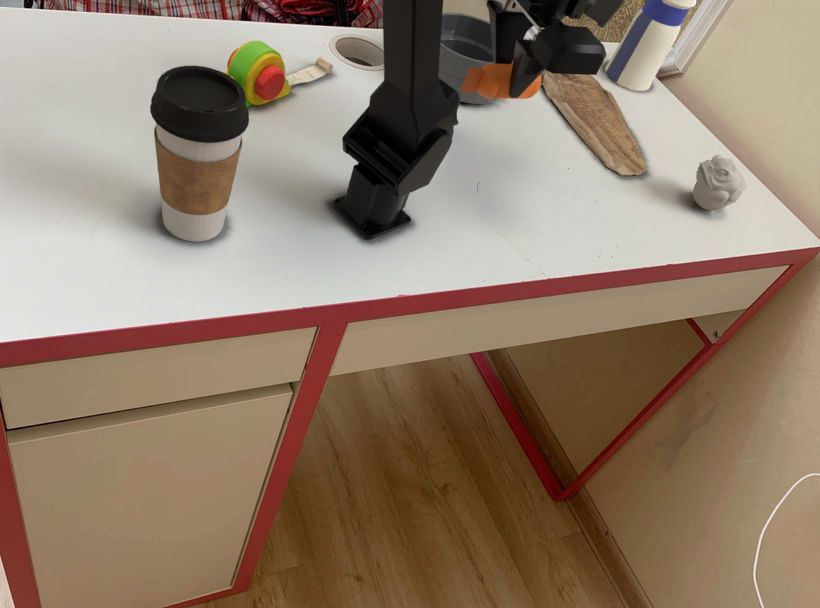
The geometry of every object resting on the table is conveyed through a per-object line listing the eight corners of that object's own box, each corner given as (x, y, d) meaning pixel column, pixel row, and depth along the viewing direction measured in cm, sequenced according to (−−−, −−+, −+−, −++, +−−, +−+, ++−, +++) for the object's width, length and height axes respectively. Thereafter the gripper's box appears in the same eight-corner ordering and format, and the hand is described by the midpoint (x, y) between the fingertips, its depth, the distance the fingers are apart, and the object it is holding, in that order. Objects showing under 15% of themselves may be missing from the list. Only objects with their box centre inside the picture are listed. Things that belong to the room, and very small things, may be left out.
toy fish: (465, 105, 77) (478, 76, 74) (454, 84, 79) (465, 55, 76) (537, 105, 80) (552, 78, 78) (525, 85, 82) (538, 58, 79)
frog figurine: (671, 185, 96) (702, 142, 90) (718, 196, 96) (751, 154, 91) (682, 214, 92) (715, 170, 86) (731, 225, 93) (766, 182, 87)
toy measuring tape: (197, 96, 84) (200, 44, 79) (310, 58, 96) (319, 10, 91) (233, 124, 82) (239, 72, 77) (344, 81, 94) (355, 34, 89)
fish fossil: (669, 175, 97) (674, 168, 96) (608, 181, 94) (612, 174, 93) (580, 67, 111) (583, 60, 110) (524, 69, 108) (526, 63, 107)
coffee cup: (154, 252, 67) (156, 114, 55) (145, 194, 71) (144, 55, 60) (243, 249, 70) (261, 117, 58) (228, 193, 74) (242, 61, 63)
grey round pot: (457, 115, 95) (474, 71, 90) (395, 64, 100) (408, 19, 95) (518, 97, 102) (537, 54, 97) (457, 50, 107) (472, 7, 102)
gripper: (687, -6, 65) (605, 138, 77) (588, -94, 75) (530, 44, 87) (588, -14, 61) (518, 138, 73) (498, -106, 71) (450, 41, 83)
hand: (505, 87), depth 79 cm, fingers closed on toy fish, 3 cm apart
